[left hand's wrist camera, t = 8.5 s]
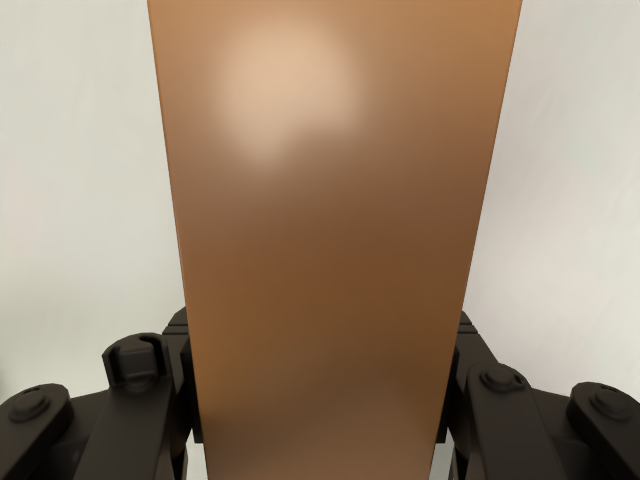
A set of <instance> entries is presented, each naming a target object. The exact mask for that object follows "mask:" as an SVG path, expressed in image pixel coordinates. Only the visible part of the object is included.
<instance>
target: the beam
mask: <svg viewBox="0 0 640 480" xmlns="http://www.w3.org/2000/svg"><path fill="white" fill-rule="evenodd" d="M147 5H148V12H149V20H150V28H151V36H152V44H153V52H154V60H155V67H156V75H157V83H158V91H159V99H160V107H161V115H162V123H163V130H164V138H165V146H166V154H167V162H168V170H169V178H170V185H171V193H172V201H173V209H174V217H175V225H176V233H177V240H178V248H179V256H180V264H181V272H182V280H183V288H184V296H185V303H186V311H187V319H188V327H189V335H190V343H191V351H192V358H193V366H194V374H195V382H196V390H197V398H198V406H199V414H200V421H201V429H202V437H203V445H204V453H205V461H206V469H207V476H208V480H429V475H430V470H431V465H432V460H433V455H434V450H435V444H436V439H437V434H438V429H439V424H440V419H441V414H442V409H443V404H444V399H445V393H446V388H447V383H448V378H449V373H450V368H451V363H452V358H453V353H454V347H455V342H456V337H457V332H458V327H459V322H460V317H461V312H462V307H463V302H464V296H465V291H466V286H467V281H468V276H469V271H470V266H471V261H472V256H473V250H474V245H475V240H476V235H477V230H478V225H479V220H480V215H481V210H482V205H483V199H484V194H485V189H486V184H487V179H488V174H489V169H490V164H491V159H492V153H493V148H494V143H495V138H496V133H497V128H498V123H499V118H500V113H501V108H502V102H503V97H504V92H505V87H506V82H507V77H508V72H509V67H510V62H511V56H512V51H513V46H514V41H515V36H516V31H517V26H518V21H519V16H520V11H521V5H522V0H147Z"/></svg>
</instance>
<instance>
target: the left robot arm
mask: <svg viewBox="0 0 640 480" xmlns="http://www.w3.org/2000/svg"><path fill="white" fill-rule="evenodd" d="M102 359H103V362H104V366H105V370H106V374H107V378H108V381H109V385H110V386H109V389H108V390H104V391H101V392H97V393H93V394H88V395H84V396H80V397H75V398H71V399H70V395H69V392H68V390H67V389H66V388H65V387H64V386H63V385H59V384H53V383H51V384H43V385H38V386H35V387H32V388H29V389H26V390H23V391H22V392H20V393H18V394H16V395H14V396H12V397H10V398H9V399H8V400H6V401H5V402H4V403H3V404H1V405H0V480H186V475H187V465H188V455H187V448H186V442H187V439H188V437H189V434H190V431H191V429H192V430H193V436H194V442H195V443H203V437H202V429H201V421H200V414H199V406H198V398H197V390H196V382H195V374H194V366H193V358H192V351H191V343H190V335H189V327H188V319H187V311H186V306H185V307H184V308H182V309H181V310H180V311H178V312H177V313H175V314H174V316H173V317H172V319H171V320H170V322H169V323H168V326H166V328H165V329H164V331H163V332H162V335H160V334H156V333H139V334H134V335H130V336H127V337H125V338H123V339H120V340H118V341H116V342H115V343H113V344H112V345H111V346H109V347H108V348H107V349H106V350H105V352H104V353H103V354H102ZM447 428H449V430H450V433H451V435H452V438H453V441H454V448H453V454H452V460H451V465H450V471H449V477H448V480H453V478H454V480H640V403H639V402H637V401H636V400H635V399H633V398H632V397H631V396H630V395H628V394H626V393H624V392H622V391H620V390H618V389H616V388H614V387H611V386H607V385H604V384H601V383H594V382H583V383H578V384H577V385H575V386H574V387H573V388H572V391H571V394H570V397H567V396H563V395H558V394H554V393H549V392H545V391H541V390H538V389H534V388H531V386H530V384H529V383H528V381H527V380H526V378H525V377H524V376H523V375H521V374H520V373H519V372H518V371H516V370H515V369H513V368H511V367H509V366H507V365H505V364H501V363H498V361H497V360H496V358H495V357H494V355H493V354H492V352H491V351H490V349H489V348H488V346H487V345H486V343H485V342H484V340H483V339H482V337H481V336H480V334H478V331H477V330H476V328H475V327H474V325H472V322H471V321H470V319H469V318H468V316H467V315H466V313H465V312H463V311H462V312H461V317H460V322H459V327H458V332H457V337H456V342H455V347H454V353H453V358H452V363H451V368H450V373H449V378H448V383H447V388H446V393H445V399H444V404H443V409H442V414H441V419H440V424H439V429H438V434H437V439H436V443H445V440H446V434H447Z"/></svg>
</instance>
